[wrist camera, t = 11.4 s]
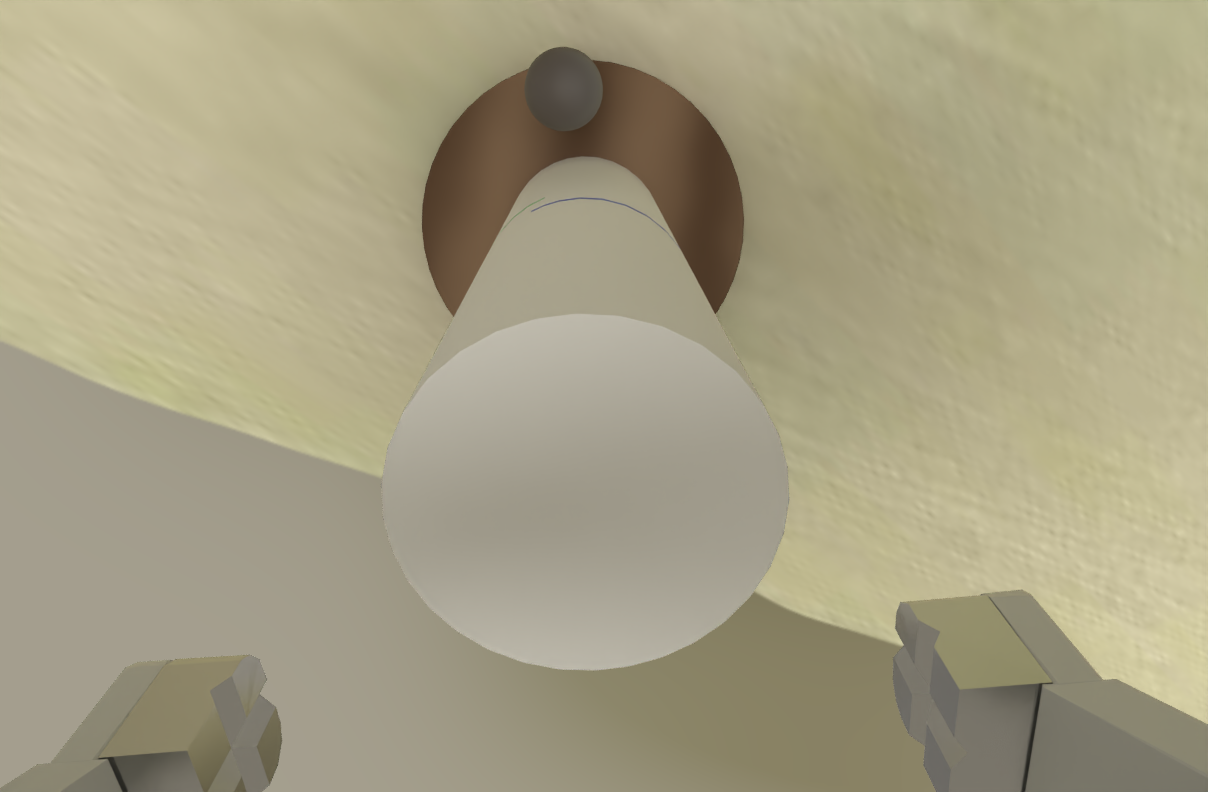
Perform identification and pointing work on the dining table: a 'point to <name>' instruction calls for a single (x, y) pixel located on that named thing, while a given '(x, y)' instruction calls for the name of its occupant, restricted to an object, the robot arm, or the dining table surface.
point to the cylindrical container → (585, 441)
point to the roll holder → (573, 129)
